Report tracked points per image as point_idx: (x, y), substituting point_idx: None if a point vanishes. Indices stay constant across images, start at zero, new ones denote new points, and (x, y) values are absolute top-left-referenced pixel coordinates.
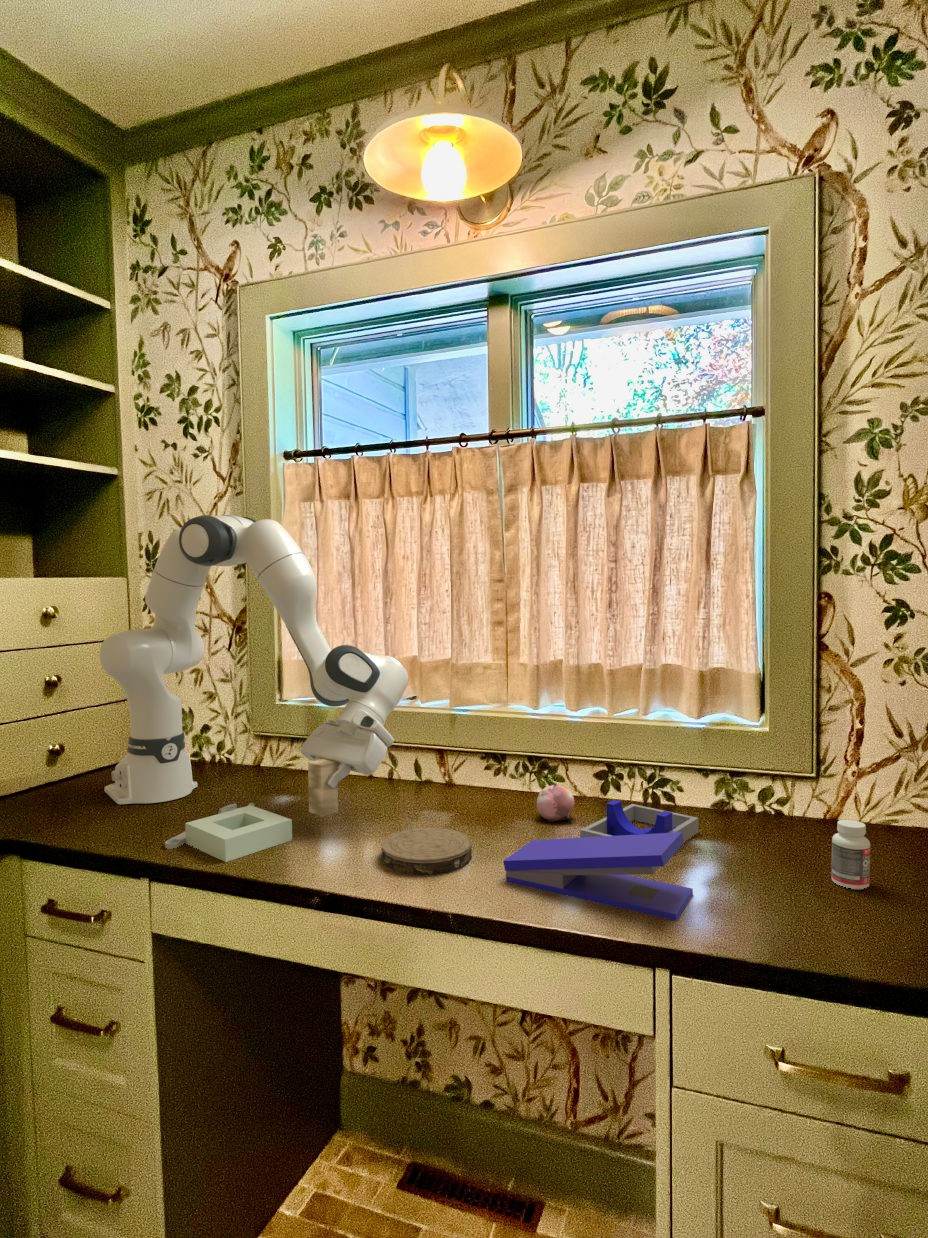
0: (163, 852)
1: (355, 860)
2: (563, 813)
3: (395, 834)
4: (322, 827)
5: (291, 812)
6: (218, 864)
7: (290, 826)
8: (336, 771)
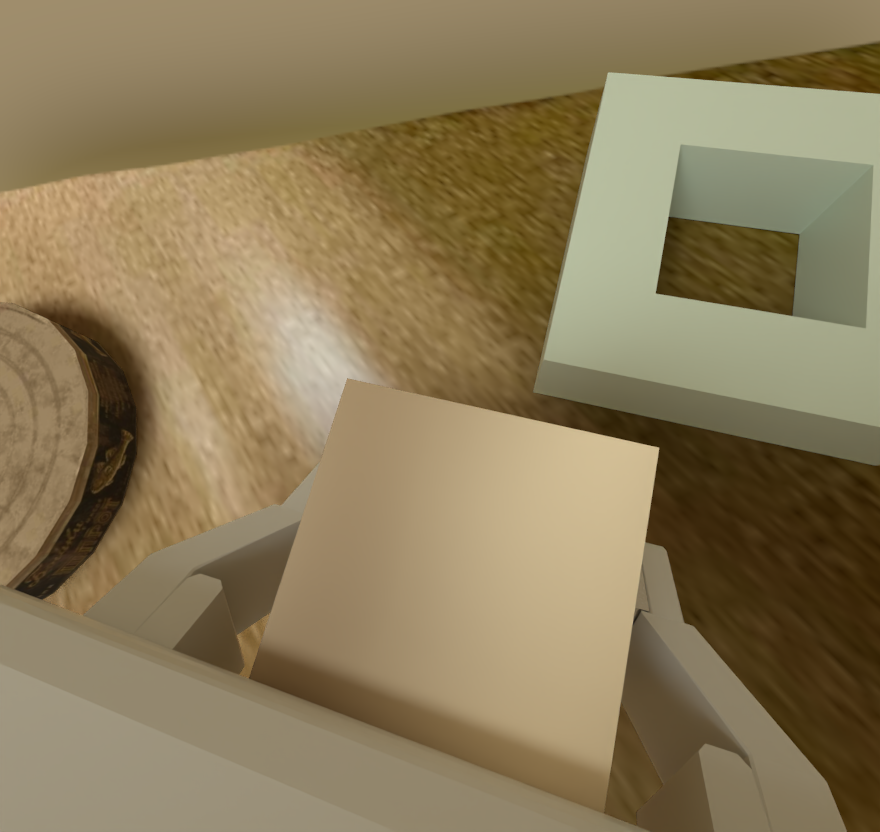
0: None
1: (208, 343)
2: None
3: (65, 484)
4: None
5: (871, 739)
6: None
7: (541, 364)
8: (246, 540)
